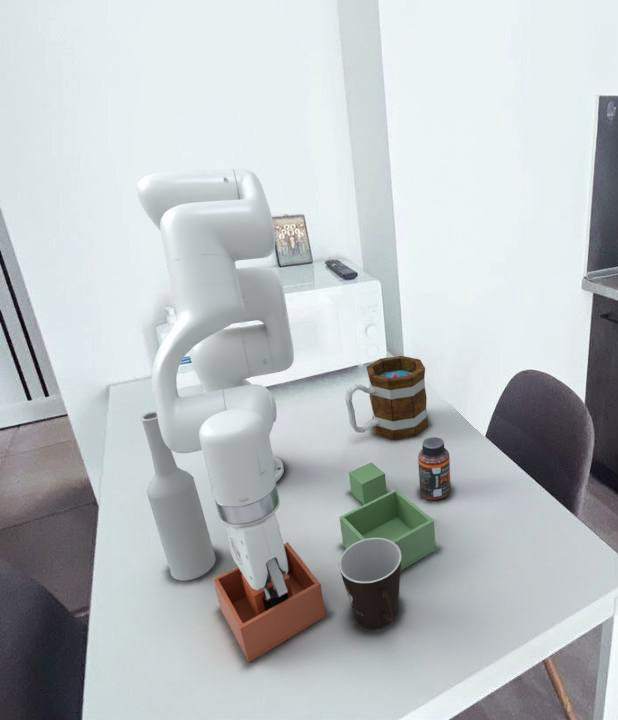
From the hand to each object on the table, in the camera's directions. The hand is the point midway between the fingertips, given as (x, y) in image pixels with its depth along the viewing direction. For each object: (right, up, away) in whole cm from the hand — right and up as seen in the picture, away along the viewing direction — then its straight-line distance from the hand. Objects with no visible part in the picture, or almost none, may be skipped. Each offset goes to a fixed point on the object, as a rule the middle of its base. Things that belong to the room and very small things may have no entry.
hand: (270, 599), depth 79 cm
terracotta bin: (0, -2, +1) cm, 3 cm away
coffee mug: (+15, -3, 0) cm, 16 cm away
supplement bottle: (+22, +9, +27) cm, 36 cm away
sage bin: (+15, +3, +13) cm, 20 cm away
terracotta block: (0, 0, 0) cm, 0 cm away
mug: (+9, +18, +48) cm, 53 cm away
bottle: (-16, +1, +10) cm, 19 cm away
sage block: (+9, +9, +26) cm, 29 cm away
